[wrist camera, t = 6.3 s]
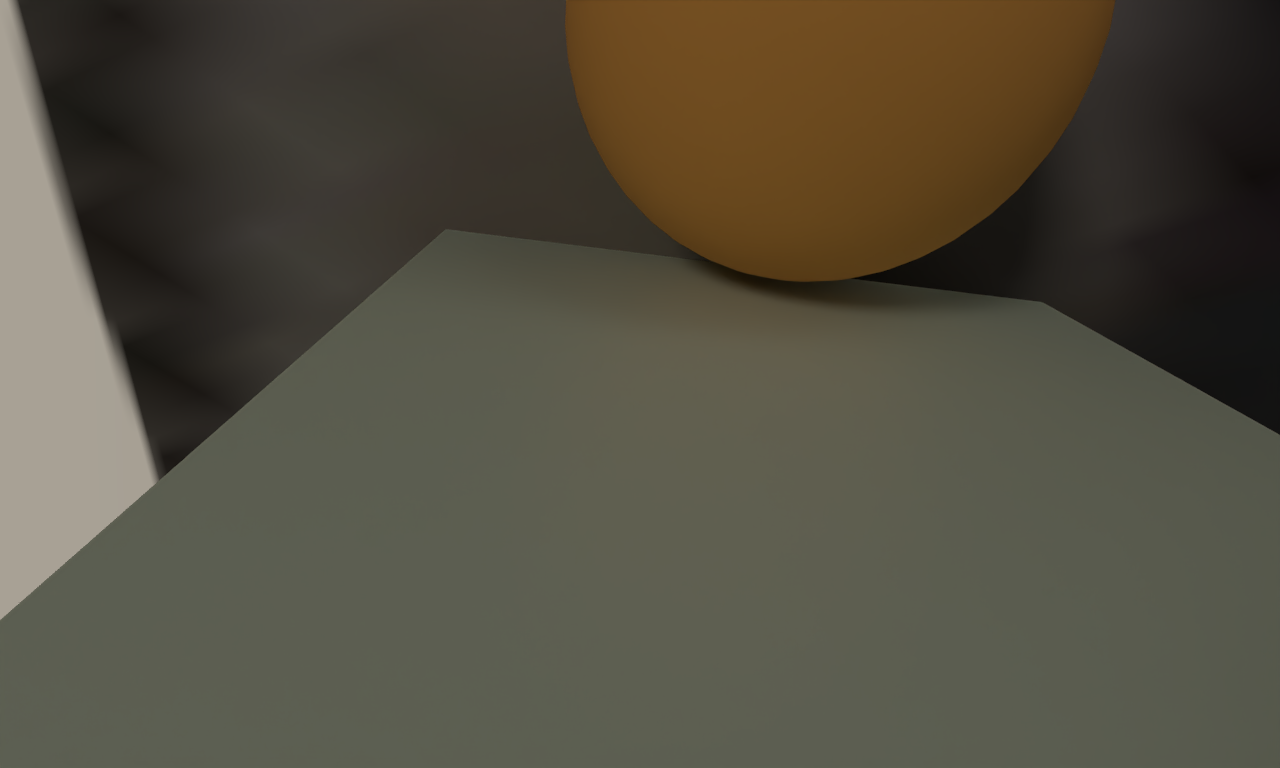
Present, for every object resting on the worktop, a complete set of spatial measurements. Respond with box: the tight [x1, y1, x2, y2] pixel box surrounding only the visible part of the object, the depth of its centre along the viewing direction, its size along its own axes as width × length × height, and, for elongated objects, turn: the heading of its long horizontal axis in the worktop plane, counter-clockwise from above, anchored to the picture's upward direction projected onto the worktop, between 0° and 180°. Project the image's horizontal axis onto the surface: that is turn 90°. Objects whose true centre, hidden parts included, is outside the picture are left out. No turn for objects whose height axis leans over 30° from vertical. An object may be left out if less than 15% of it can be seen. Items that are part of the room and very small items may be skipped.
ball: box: [565, 0, 1115, 282], centre depth 7 cm, size 5×5×5 cm
